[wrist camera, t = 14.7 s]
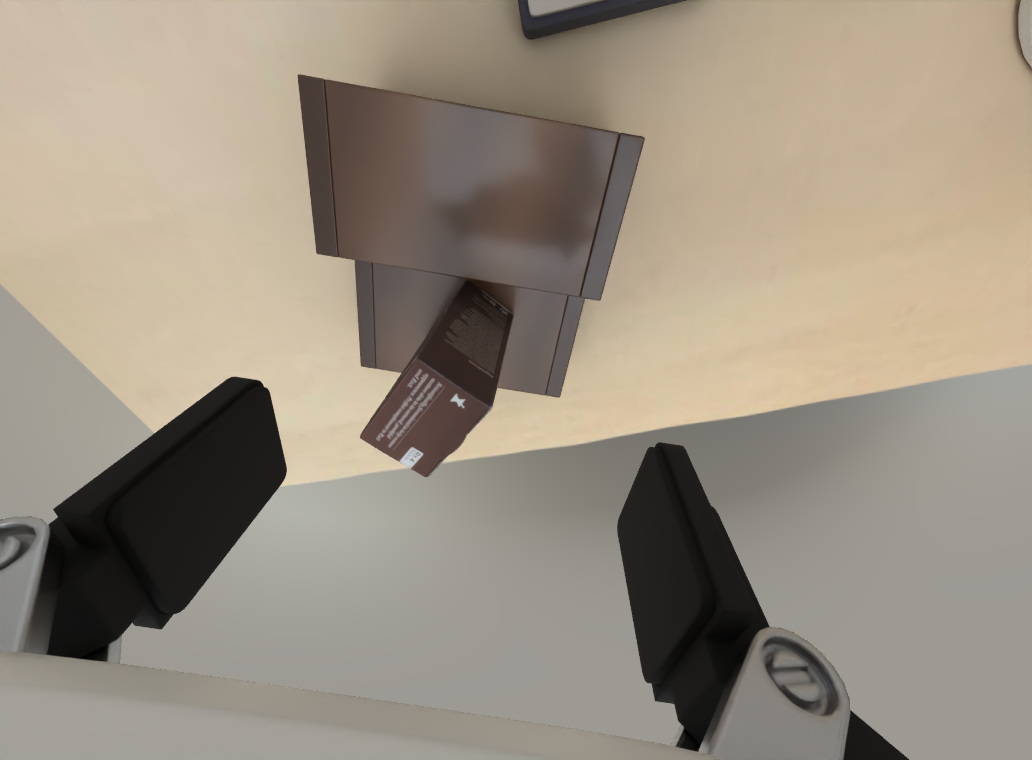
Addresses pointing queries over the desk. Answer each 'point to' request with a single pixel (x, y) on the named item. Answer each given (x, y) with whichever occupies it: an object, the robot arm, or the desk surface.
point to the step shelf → (464, 218)
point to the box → (444, 384)
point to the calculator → (576, 13)
